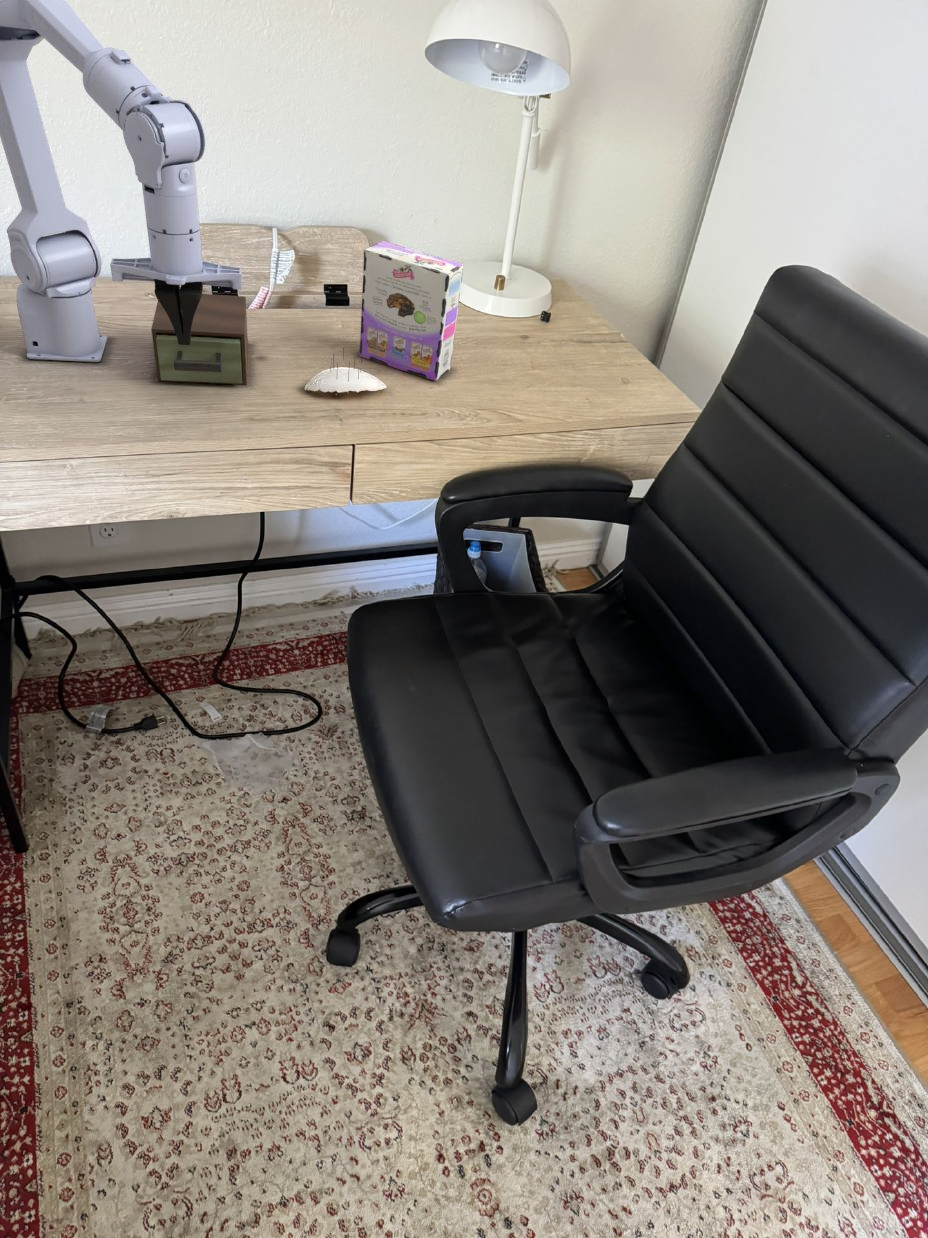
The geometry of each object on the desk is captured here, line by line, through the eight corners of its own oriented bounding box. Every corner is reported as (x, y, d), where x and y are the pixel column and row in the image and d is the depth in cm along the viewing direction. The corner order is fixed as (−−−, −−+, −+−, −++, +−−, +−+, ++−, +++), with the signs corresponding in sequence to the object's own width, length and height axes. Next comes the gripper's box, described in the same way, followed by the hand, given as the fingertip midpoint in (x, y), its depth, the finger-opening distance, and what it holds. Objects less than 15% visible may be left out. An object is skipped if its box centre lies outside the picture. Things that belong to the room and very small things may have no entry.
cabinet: (246, 384, 115) (244, 333, 110) (157, 381, 112) (151, 328, 107) (247, 344, 124) (245, 296, 119) (165, 340, 121) (159, 290, 116)
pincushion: (381, 380, 121) (384, 344, 117) (390, 400, 117) (393, 363, 113) (301, 381, 118) (301, 344, 114) (308, 401, 113) (308, 364, 110)
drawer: (241, 398, 110) (239, 357, 106) (158, 395, 108) (152, 352, 104) (243, 345, 122) (241, 306, 118) (168, 341, 119) (163, 301, 115)
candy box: (451, 369, 127) (466, 263, 116) (435, 383, 123) (449, 273, 112) (375, 343, 130) (382, 237, 119) (357, 356, 126) (362, 247, 115)
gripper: (99, 232, 87) (118, 352, 96) (238, 243, 90) (244, 358, 99) (108, 211, 92) (125, 327, 101) (240, 223, 95) (245, 334, 104)
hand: (184, 341), depth 100 cm, fingers closed
